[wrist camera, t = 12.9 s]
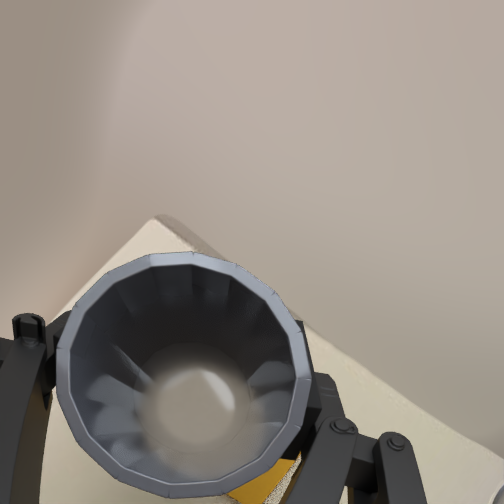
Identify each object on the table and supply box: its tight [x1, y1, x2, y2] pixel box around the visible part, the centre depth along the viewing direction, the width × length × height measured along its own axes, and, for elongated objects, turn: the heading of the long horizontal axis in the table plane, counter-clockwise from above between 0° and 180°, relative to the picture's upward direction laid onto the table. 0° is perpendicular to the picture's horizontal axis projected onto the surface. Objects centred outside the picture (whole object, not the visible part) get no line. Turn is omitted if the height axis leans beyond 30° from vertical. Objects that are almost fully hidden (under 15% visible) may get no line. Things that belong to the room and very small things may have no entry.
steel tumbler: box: [56, 251, 312, 499], centre depth 13 cm, size 7×7×10 cm
